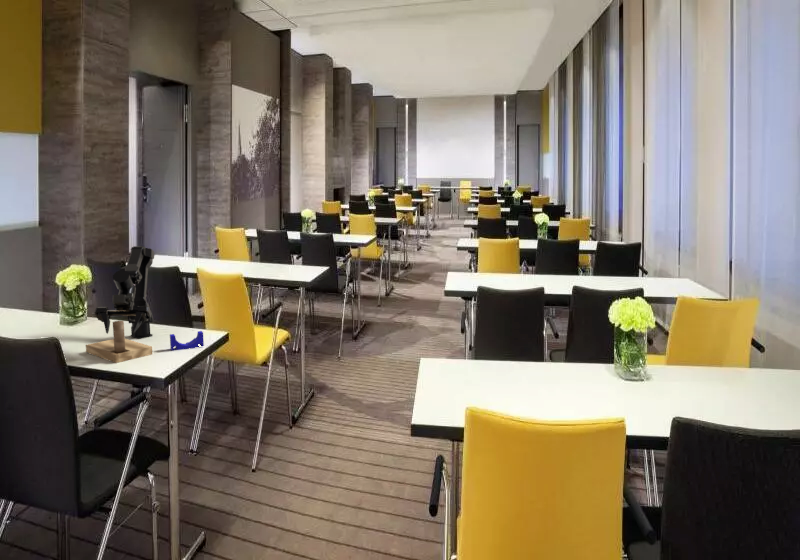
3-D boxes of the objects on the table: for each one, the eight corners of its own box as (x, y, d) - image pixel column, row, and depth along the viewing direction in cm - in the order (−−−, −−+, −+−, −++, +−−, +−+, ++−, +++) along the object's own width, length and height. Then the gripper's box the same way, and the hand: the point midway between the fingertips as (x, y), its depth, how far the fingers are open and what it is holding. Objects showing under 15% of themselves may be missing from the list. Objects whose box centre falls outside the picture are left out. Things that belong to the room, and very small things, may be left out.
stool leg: (120, 357, 215) (117, 320, 212) (128, 358, 214) (125, 321, 211) (112, 359, 211) (110, 322, 209) (121, 360, 210) (118, 323, 208)
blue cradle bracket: (201, 344, 234) (200, 330, 233) (203, 347, 230) (203, 332, 229) (169, 348, 228) (169, 333, 227) (171, 351, 224) (171, 336, 223)
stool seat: (121, 344, 231) (121, 337, 231) (152, 354, 219) (151, 346, 218) (86, 352, 220) (85, 344, 219) (116, 363, 208) (115, 354, 207)
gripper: (94, 286, 213) (86, 322, 204) (147, 285, 217) (142, 320, 208) (102, 302, 222) (95, 337, 213) (153, 301, 226) (148, 335, 217)
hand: (120, 332), depth 213 cm, fingers open, 9 cm apart
